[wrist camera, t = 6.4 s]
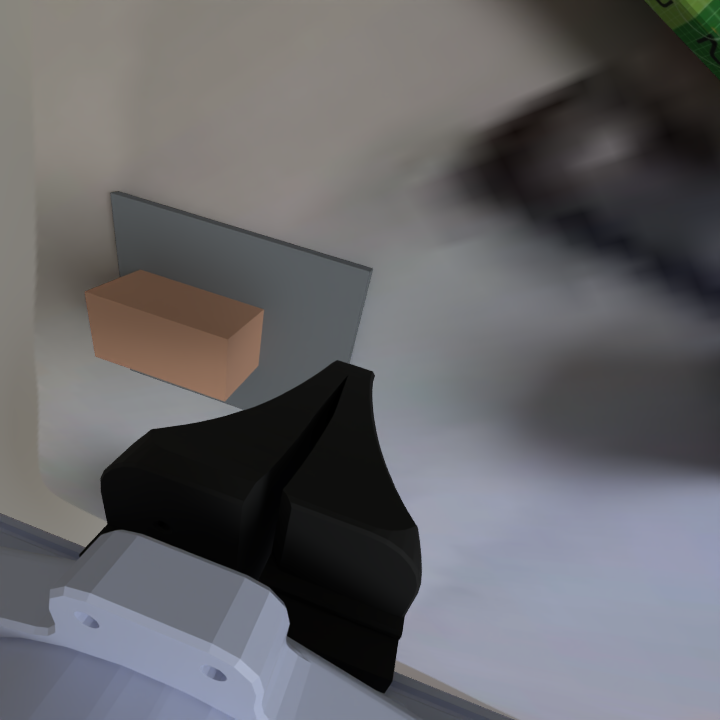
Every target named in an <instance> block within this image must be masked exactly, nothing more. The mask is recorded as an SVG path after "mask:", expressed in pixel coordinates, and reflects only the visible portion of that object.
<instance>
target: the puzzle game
mask: <svg viewBox="0 0 720 720" xmlns="http://www.w3.org/2000/svg"><path fill="white" fill-rule="evenodd" d="M644 1H645V2H646V3H647V4H648V5H649V6H650V7H651V8H652V9H653V10H654V11H655V12H656V13H657V14H658V15H659V17H660V18H661V19H662V20H663V21H664V22H665V23H666V24H667V25H668V26H669V27H670V28H671V29H672V30H673V31H674V32H675V33H676V35H677V36H678V37H679V38H680V39H681V40H682V41H683V42H684V43H685V44H686V45H687V46H688V47H689V48H690V49H691V50H692V51H693V53H694V54H695V55H696V56H697V57H698V58H699V59H700V60H701V61H702V62H703V63H704V64H705V65H706V66H707V67H708V68H709V69H710V71H711V72H712V73H713V74H714V75H715V76H716V77H717V78H718V79H719V80H720V0H644Z"/></svg>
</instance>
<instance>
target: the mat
mask: <svg viewBox="0 0 720 720" xmlns="http://www.w3.org/2000/svg"><path fill="white" fill-rule="evenodd" d="M110 194H111V203H112V212H113V221H114V229H115V238H116V247H117V256H118V265H119V274H120V277H123V276H125V275H128V274H130V273H133V272H135V271H138V270H143V271H147V272H150V273H153V274H156V275H159V276H162V277H165V278H168V279H171V280H174V281H178V282H181V283H184V284H187V285H190V286H193V287H196V288H199V289H202V290H205V291H208V292H212V293H215V294H218V295H221V296H224V297H227V298H230V299H233V300H236V301H239V302H243V303H246V304H249V305H252V306H255V307H258V308H261V309H264V315H263V325H262V335H261V345H260V355H259V365H258V367H257V368H256V369H255V370H254V371H253V372H252V373H251V374H250V375H249V376H248V377H247V378H246V380H245V381H244V382H243V383H242V384H241V385H240V386H239V387H238V388H237V389H236V390H235V391H234V392H233V393H232V395H231V396H230V397H229V398H228V399H227V400H226V401H225V402H224V401H222V400H219V399H216V398H213V397H210V396H207V395H204V394H202V393H199V392H196V391H193V390H190V389H187V388H184V387H182V386H179V385H176V384H173V383H170V382H167V381H164V380H162V379H159V378H156V377H153V376H150V375H147V374H144V373H142V372H139V371H136V370H133V369H130V370H132V371H135V372H138V373H140V374H143V375H146V376H149V377H152V378H155V379H157V380H160V381H163V382H166V383H169V384H172V385H175V386H177V387H180V388H183V389H186V390H189V391H192V392H195V393H197V394H200V395H203V396H206V397H209V398H212V399H215V400H217V401H220V402H223V403H226V404H229V405H232V406H235V407H237V408H240V409H243V410H246V409H249V408H252V407H255V406H257V405H260V404H262V403H265V402H267V401H269V400H271V399H273V398H276V397H278V396H280V395H281V394H283V393H285V392H287V391H289V390H291V389H293V388H295V387H296V386H298V385H300V384H301V383H303V382H305V381H306V380H308V379H309V378H311V377H313V376H314V375H316V374H317V373H319V372H320V371H321V370H323V369H324V368H326V367H327V366H328V365H330V364H331V363H332V362H334V361H336V360H339V361H342V362H345V363H350V359H351V355H352V351H353V347H354V343H355V339H356V335H357V331H358V327H359V323H360V319H361V315H362V311H363V307H364V303H365V299H366V295H367V291H368V287H369V283H370V279H371V275H372V271H373V269H372V268H369V267H366V266H362V265H359V264H356V263H353V262H349V261H346V260H343V259H339V258H336V257H333V256H330V255H326V254H323V253H320V252H316V251H313V250H310V249H306V248H303V247H300V246H297V245H293V244H290V243H287V242H283V241H280V240H277V239H274V238H270V237H267V236H264V235H260V234H257V233H254V232H251V231H247V230H244V229H241V228H237V227H234V226H231V225H228V224H224V223H221V222H218V221H214V220H211V219H208V218H205V217H201V216H198V215H195V214H191V213H188V212H185V211H181V210H178V209H175V208H172V207H168V206H165V205H162V204H158V203H155V202H152V201H149V200H145V199H142V198H139V197H135V196H132V195H129V194H126V193H122V192H119V191H118V192H111V193H110Z"/></svg>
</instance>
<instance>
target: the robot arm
mask: <svg viewBox="0 0 720 720" xmlns="http://www.w3.org/2000/svg"><path fill="white" fill-rule="evenodd" d="M374 377H375V375H374V373H373V371H370V370H367V369H364V368H361V367H358V366H355V365H352V364H349V363H345V362H342V361H339V360H336V361H334V362H332V363H331V364H330V365H328V366H327V367H326V368H324V369H323V370H321V371H320V372H319V373H317V374H316V375H314V376H313V377H311V378H309V379H308V380H306V381H305V382H303V383H301V384H300V385H298V386H296V387H295V388H293V389H291V390H289V391H287V392H285V393H283V394H281V395H280V396H278V397H276V398H273V399H271V400H269V401H267V402H265V403H262V404H260V405H257V406H255V407H252V408H249V409H246V410H243V411H240V412H237V413H233V414H230V415H227V416H223V417H219V418H215V419H211V420H207V421H202V422H197V423H192V424H186V425H179V426H172V427H165V428H158V429H151V430H150V431H149V432H148V433H146V434H145V435H144V436H142V437H141V438H140V439H138V440H137V441H136V442H135V443H134V444H133V445H131V446H130V447H129V448H128V449H127V450H126V451H125V452H124V453H123V454H121V455H120V456H119V457H118V458H117V459H116V460H115V461H114V462H113V463H112V464H111V465H109V466H108V467H107V468H106V469H105V470H104V472H103V474H102V476H101V494H102V499H103V504H104V509H105V514H106V519H107V525H106V527H104V528H103V530H102V531H101V532H100V533H99V534H98V535H97V536H96V537H95V538H94V539H93V540H92V541H91V542H90V543H89V544H88V545H87V547H83V546H81V545H78V544H76V543H73V542H70V541H68V540H66V539H63V538H61V537H58V536H56V535H53V534H51V533H48V532H46V531H43V530H41V529H38V528H36V527H33V526H31V525H28V524H26V523H23V522H21V521H18V520H16V519H14V518H11V517H8V516H6V515H3V514H1V513H0V720H514V719H511V718H508V717H506V716H504V715H501V714H499V713H496V712H493V711H491V710H489V709H486V708H484V707H481V706H479V705H476V704H474V703H471V702H469V701H466V700H464V699H461V698H459V697H456V696H454V695H451V694H449V693H446V692H444V691H441V690H439V689H436V688H434V687H431V686H429V685H426V684H424V683H422V682H419V681H417V680H414V679H411V678H409V677H406V676H404V675H402V674H399V673H397V672H394V668H395V661H396V654H397V647H398V640H399V639H400V638H401V635H402V631H403V624H404V617H405V614H406V613H407V611H408V609H409V608H410V606H411V604H412V602H413V601H414V599H415V597H416V595H417V594H418V591H419V588H420V585H421V576H422V563H421V548H420V540H419V532H418V527H417V526H416V524H415V522H414V521H413V519H412V517H411V516H410V514H409V513H408V511H407V509H406V507H405V506H404V504H403V502H402V500H401V498H400V496H399V494H398V492H397V490H396V488H395V486H394V483H393V481H392V478H391V476H390V474H389V471H388V469H387V467H386V464H385V461H384V458H383V455H382V452H381V448H380V445H379V441H378V437H377V432H376V427H375V421H374V414H373V402H372V387H373V380H374Z"/></svg>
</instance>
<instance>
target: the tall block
mask: <svg viewBox="0 0 720 720" xmlns="http://www.w3.org/2000/svg"><path fill="white" fill-rule="evenodd" d="M85 297H86V303H87V309H88V315H89V321H90V327H91V333H92V339H93V345H94V351H95V356H96V357H99V358H101V359H104V360H107V361H110V362H113V363H116V364H119V365H121V366H124V367H127V368H130V369H133V370H136V371H139V372H142V373H144V374H147V375H150V376H153V377H156V378H159V379H162V380H164V381H167V382H170V383H173V384H176V385H179V386H182V387H184V388H187V389H190V390H193V391H196V392H199V393H202V394H204V395H207V396H210V397H213V398H216V399H219V400H222V401H224V402H225V401H226V400H227V399H228V398H229V397H230V396H231V395H232V393H233V392H234V391H235V390H236V389H237V388H238V387H239V386H240V385H241V384H242V383H243V382H244V381H245V380H246V378H247V377H248V376H249V375H250V374H251V373H252V372H253V371H254V370H255V369H256V368H257V367H258V365H259V355H260V345H261V335H262V325H263V315H264V309H261V308H258V307H255V306H252V305H249V304H246V303H243V302H239V301H236V300H233V299H230V298H227V297H224V296H221V295H218V294H215V293H212V292H208V291H205V290H202V289H199V288H196V287H193V286H190V285H187V284H184V283H181V282H178V281H174V280H171V279H168V278H165V277H162V276H159V275H156V274H153V273H150V272H147V271H143V270H138V271H135V272H133V273H130V274H128V275H125V276H123V277H120V278H118V279H115V280H113V281H110V282H108V283H105V284H103V285H100V286H97V287H95V288H92V289H90V290H87V291H85Z"/></svg>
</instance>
